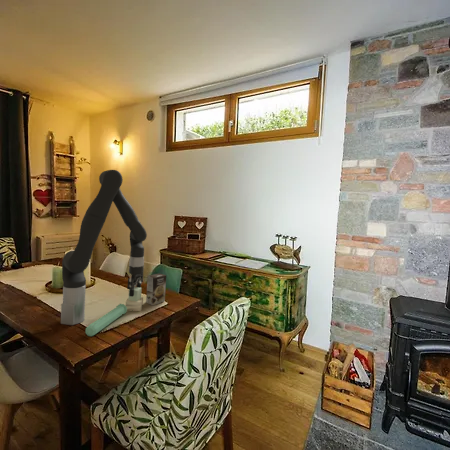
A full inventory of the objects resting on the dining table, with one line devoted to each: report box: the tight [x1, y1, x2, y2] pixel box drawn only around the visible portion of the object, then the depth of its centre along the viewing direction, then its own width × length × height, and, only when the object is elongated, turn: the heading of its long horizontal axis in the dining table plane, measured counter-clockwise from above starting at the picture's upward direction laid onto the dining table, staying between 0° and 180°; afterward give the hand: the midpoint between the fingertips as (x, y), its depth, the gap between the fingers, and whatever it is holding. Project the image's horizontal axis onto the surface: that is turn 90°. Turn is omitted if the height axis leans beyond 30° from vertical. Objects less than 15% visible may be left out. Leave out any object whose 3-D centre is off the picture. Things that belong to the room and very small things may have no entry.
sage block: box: [127, 286, 143, 301], centre depth 145 cm, size 5×5×6 cm
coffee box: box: [145, 273, 167, 306], centre depth 156 cm, size 9×6×16 cm
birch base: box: [125, 296, 144, 312], centre depth 146 cm, size 8×8×5 cm
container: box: [85, 303, 128, 337], centre depth 125 cm, size 6×6×25 cm
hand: (135, 293), depth 145 cm, fingers open, 8 cm apart
